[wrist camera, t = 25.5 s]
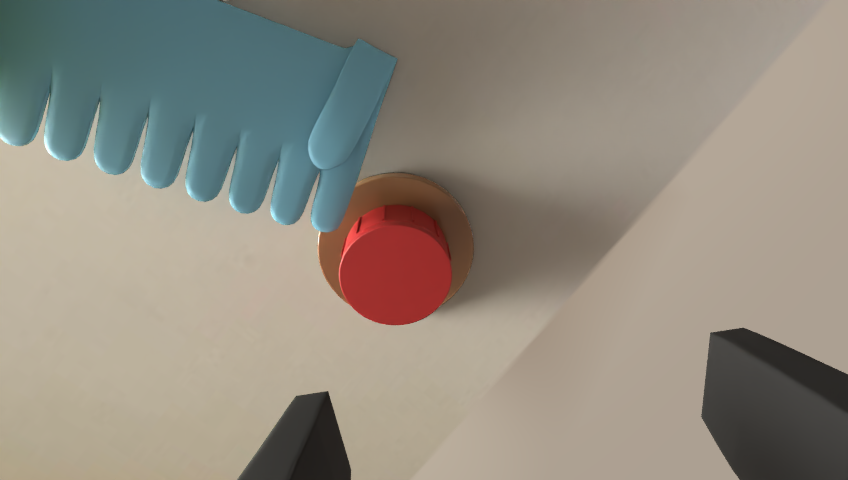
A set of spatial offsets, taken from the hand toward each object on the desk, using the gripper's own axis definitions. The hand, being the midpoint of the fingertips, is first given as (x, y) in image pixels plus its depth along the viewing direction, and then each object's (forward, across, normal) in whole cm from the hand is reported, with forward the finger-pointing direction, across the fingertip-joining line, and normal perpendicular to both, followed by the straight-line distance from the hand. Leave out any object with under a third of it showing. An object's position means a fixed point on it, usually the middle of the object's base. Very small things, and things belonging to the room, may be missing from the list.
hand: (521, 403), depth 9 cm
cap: (+8, +3, +1) cm, 8 cm away
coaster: (+10, +3, +1) cm, 11 cm away
